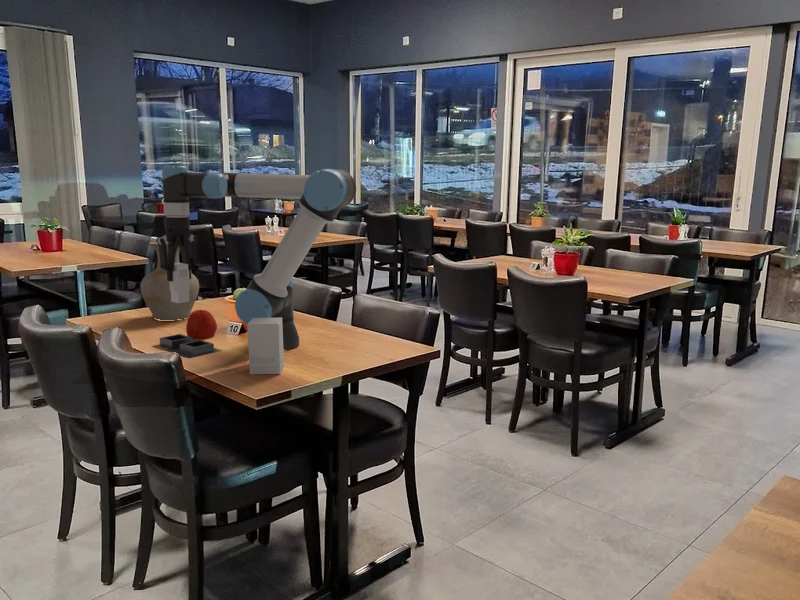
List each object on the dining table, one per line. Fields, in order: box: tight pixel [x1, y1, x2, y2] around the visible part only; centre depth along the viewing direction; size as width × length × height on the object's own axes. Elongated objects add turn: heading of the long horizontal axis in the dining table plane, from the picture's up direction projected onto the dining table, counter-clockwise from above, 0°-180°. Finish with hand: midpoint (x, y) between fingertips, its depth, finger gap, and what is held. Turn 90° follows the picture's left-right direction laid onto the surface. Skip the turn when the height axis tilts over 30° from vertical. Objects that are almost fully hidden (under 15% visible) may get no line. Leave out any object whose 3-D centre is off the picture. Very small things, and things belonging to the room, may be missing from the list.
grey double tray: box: [151, 333, 223, 359], centre depth 213 cm, size 22×12×4 cm, turn 49°
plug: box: [171, 262, 190, 303], centre depth 210 cm, size 5×4×12 cm
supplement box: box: [246, 318, 285, 375], centre depth 193 cm, size 9×9×15 cm
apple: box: [185, 309, 218, 340], centre depth 229 cm, size 10×10×10 cm
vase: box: [139, 240, 200, 320], centre depth 261 cm, size 22×22×30 cm
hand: (179, 290), depth 211 cm, fingers closed on plug, 4 cm apart
